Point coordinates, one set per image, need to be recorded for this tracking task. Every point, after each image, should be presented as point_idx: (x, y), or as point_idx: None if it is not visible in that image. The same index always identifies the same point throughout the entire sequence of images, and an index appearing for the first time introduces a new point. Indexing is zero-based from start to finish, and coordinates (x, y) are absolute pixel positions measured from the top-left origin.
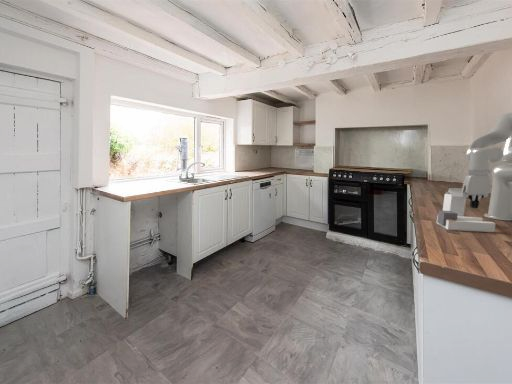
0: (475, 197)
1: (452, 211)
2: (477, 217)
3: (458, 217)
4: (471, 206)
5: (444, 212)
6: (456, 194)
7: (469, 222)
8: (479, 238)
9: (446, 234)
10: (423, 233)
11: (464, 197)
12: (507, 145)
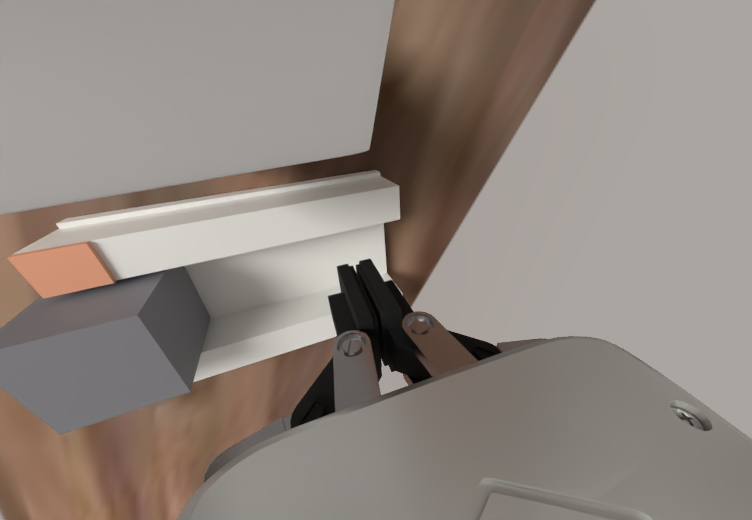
0: (414, 354)
1: (148, 336)
2: (377, 201)
3: (232, 253)
4: (340, 286)
5: (59, 415)
6: (68, 124)
7: (275, 353)
8: (284, 401)
9: (148, 429)
10: (14, 480)
11: (325, 155)
12: None
